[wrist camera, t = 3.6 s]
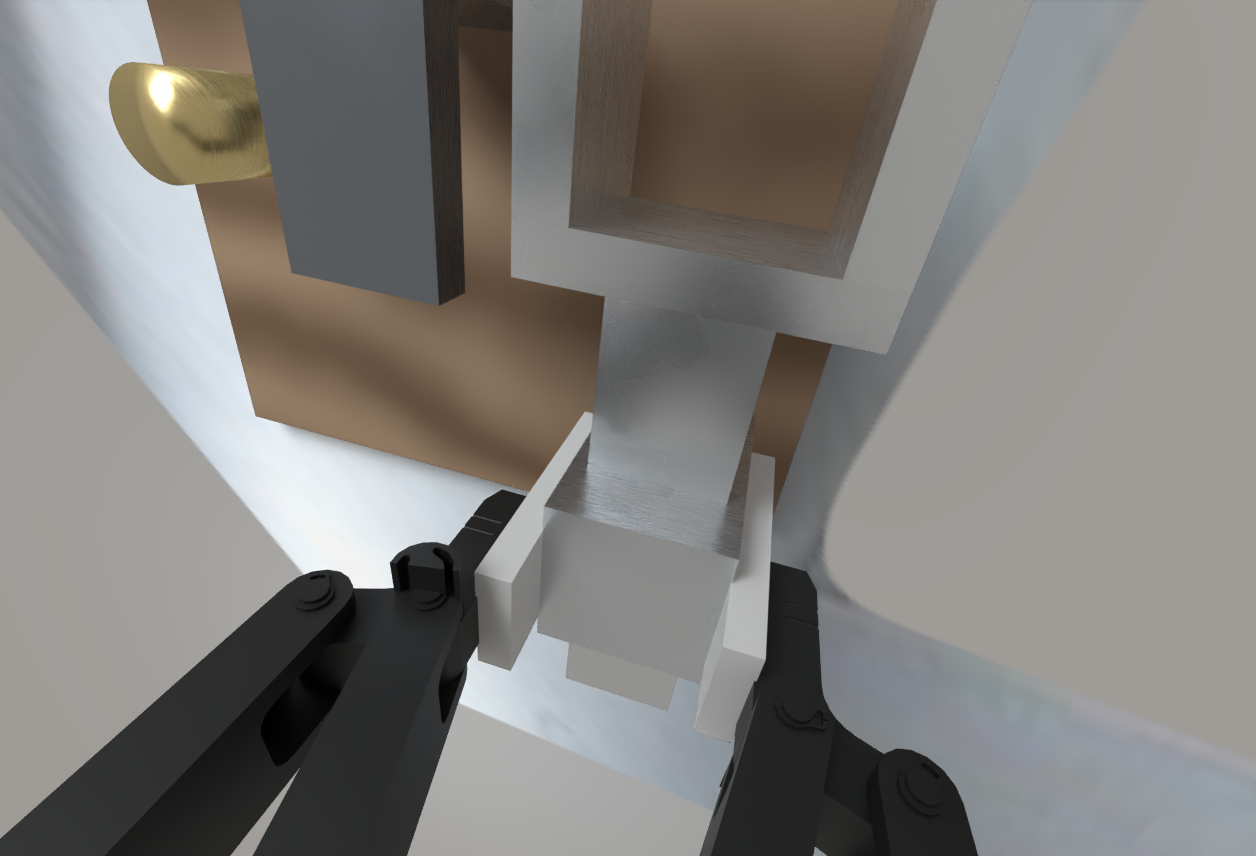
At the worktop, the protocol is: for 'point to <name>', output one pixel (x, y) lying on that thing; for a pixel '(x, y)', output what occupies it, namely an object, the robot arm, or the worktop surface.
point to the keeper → (368, 136)
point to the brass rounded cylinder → (190, 123)
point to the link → (707, 308)
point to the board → (493, 300)
